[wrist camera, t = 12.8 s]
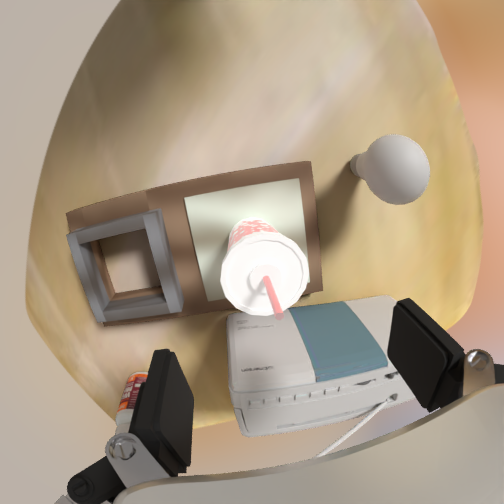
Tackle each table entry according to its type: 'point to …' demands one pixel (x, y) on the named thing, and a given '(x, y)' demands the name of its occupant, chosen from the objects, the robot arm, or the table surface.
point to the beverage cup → (262, 269)
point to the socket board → (192, 238)
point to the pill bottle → (129, 401)
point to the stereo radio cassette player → (312, 367)
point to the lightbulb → (393, 169)
